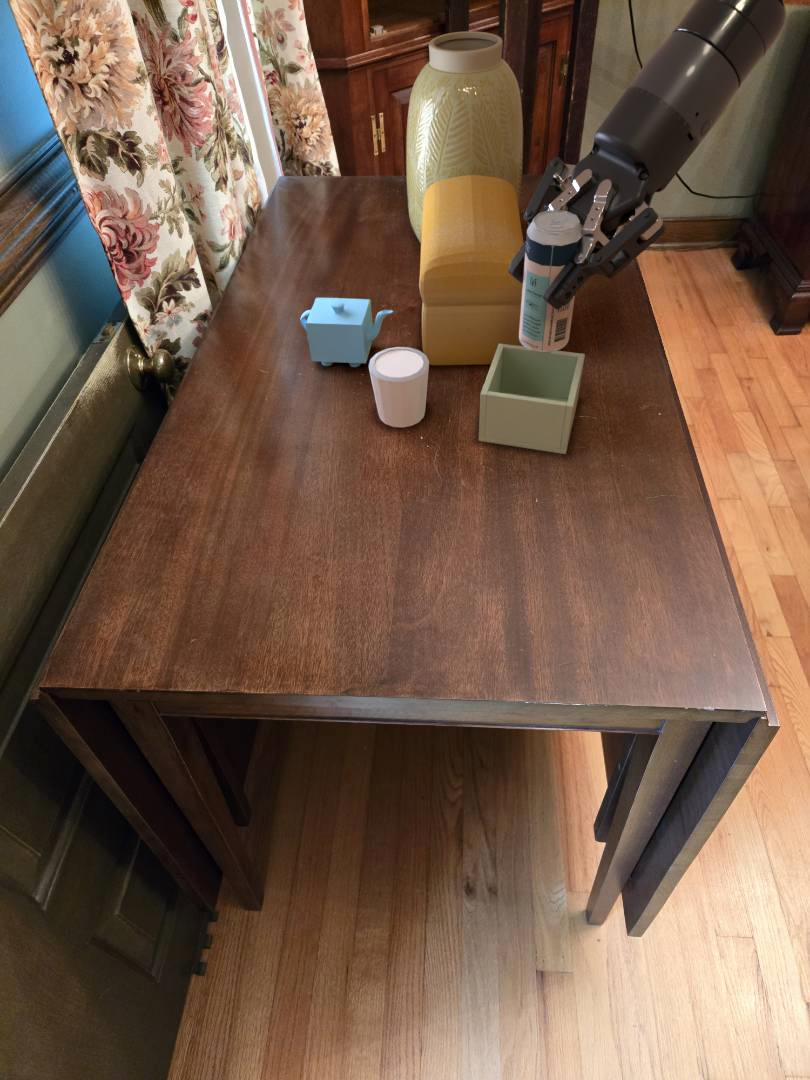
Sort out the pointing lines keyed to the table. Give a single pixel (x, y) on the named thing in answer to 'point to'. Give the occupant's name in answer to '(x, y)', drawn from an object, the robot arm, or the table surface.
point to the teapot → (341, 330)
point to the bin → (530, 398)
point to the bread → (469, 270)
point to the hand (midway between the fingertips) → (532, 290)
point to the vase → (463, 118)
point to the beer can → (547, 279)
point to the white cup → (400, 385)
